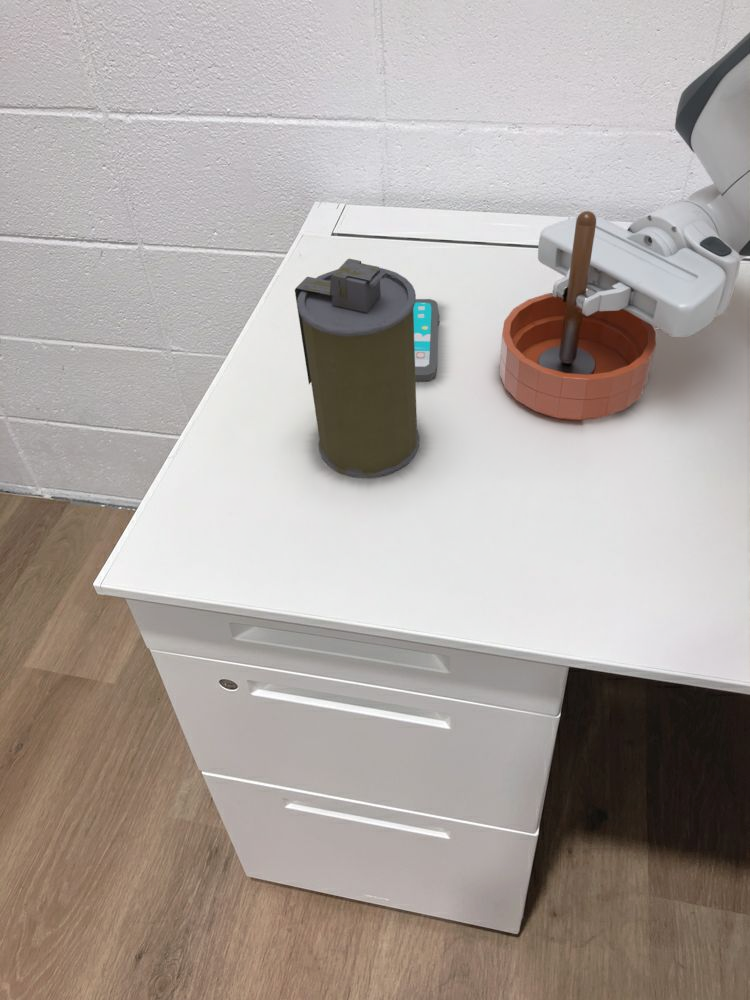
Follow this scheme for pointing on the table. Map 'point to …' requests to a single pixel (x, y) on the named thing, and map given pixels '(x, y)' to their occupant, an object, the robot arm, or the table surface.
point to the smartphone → (425, 338)
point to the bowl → (604, 334)
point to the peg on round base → (568, 352)
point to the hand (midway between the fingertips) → (569, 299)
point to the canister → (361, 366)
